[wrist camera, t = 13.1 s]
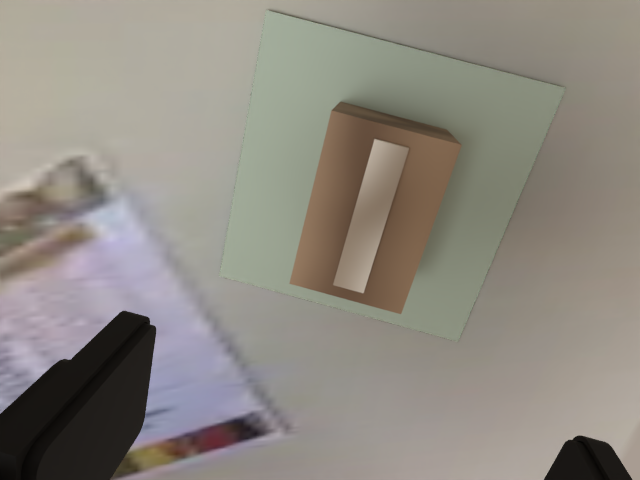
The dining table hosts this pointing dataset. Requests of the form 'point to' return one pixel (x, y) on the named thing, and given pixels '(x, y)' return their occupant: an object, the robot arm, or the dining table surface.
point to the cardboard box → (372, 206)
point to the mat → (402, 101)
